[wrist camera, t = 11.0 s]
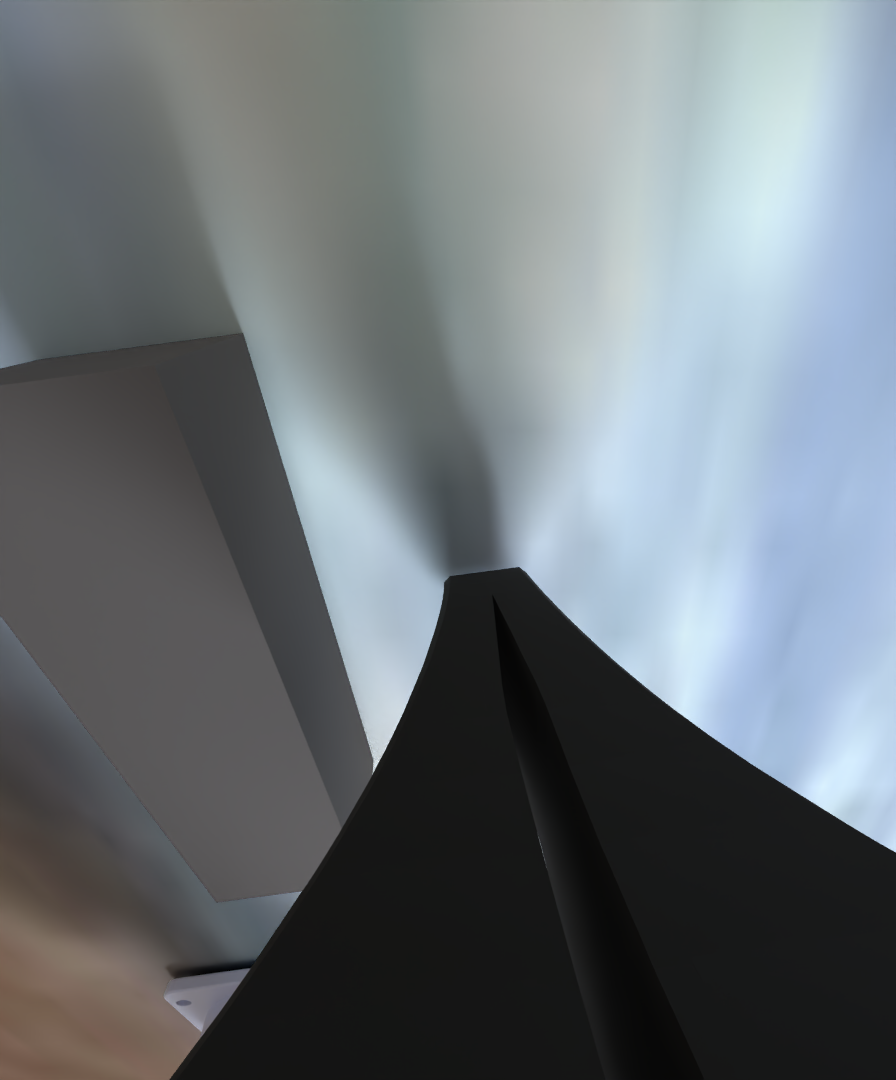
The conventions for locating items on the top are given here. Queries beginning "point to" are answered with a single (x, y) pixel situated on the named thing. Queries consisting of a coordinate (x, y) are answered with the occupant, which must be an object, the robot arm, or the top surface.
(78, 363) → the block
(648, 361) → the top surface
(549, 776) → the robot arm
